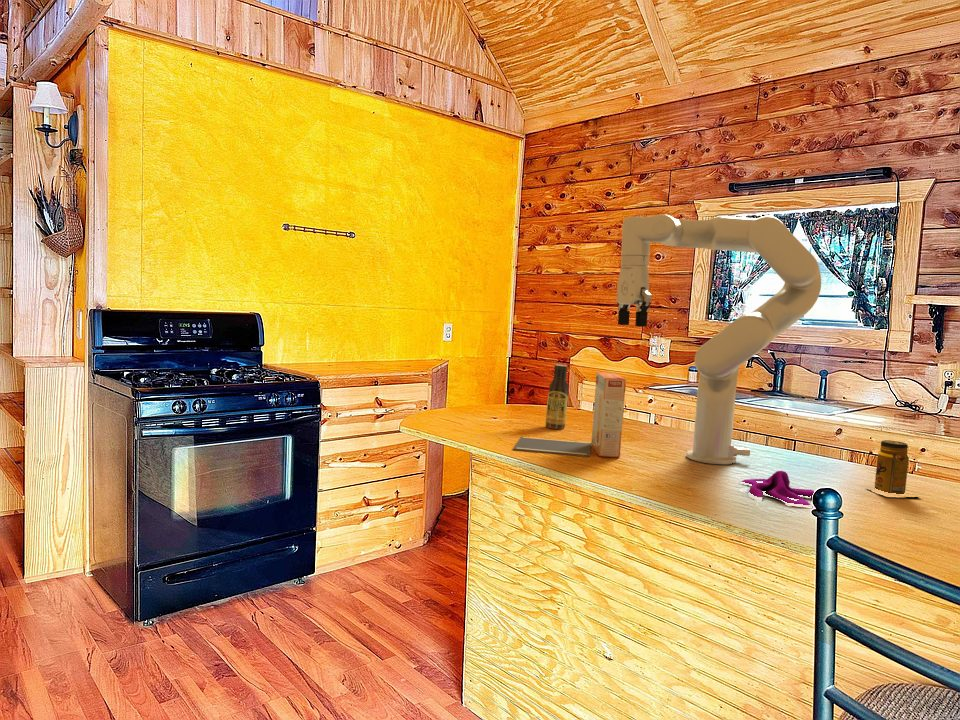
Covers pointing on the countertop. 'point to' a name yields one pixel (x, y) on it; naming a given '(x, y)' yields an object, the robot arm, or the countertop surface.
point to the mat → (553, 446)
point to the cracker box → (608, 414)
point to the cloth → (778, 488)
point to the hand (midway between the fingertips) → (632, 325)
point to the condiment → (892, 467)
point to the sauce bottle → (557, 399)
